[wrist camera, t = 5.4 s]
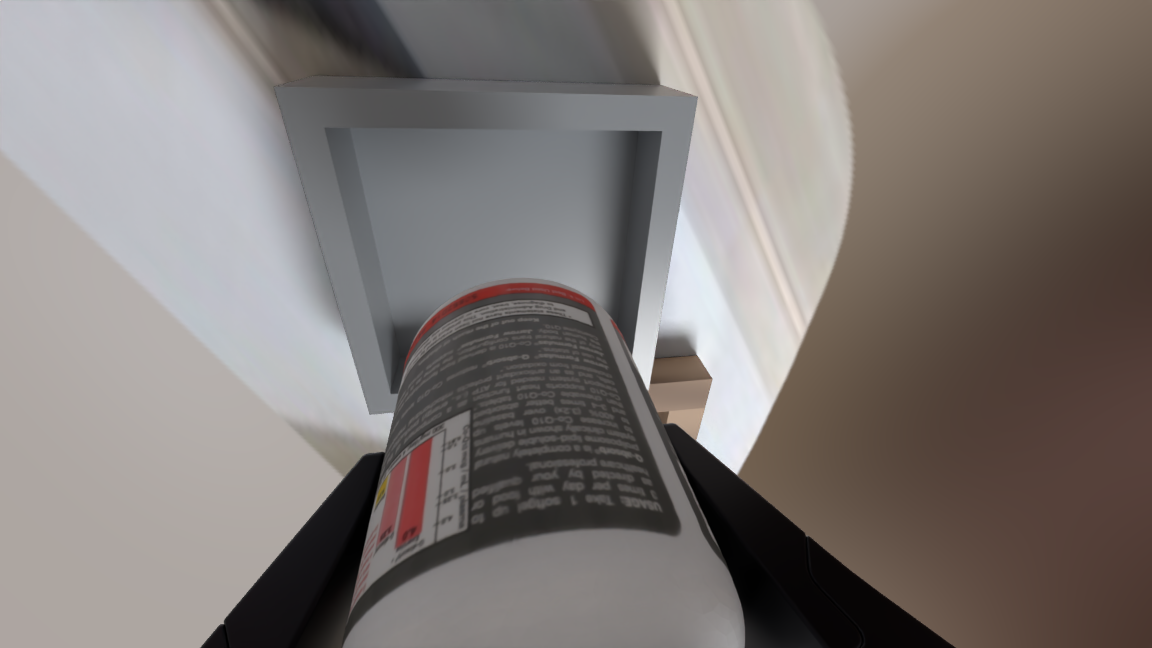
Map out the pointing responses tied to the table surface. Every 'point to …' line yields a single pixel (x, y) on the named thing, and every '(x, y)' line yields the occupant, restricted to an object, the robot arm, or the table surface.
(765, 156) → the table surface
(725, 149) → the table surface
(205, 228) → the table surface
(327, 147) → the parts tray
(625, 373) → the pill bottle
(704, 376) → the socket block
